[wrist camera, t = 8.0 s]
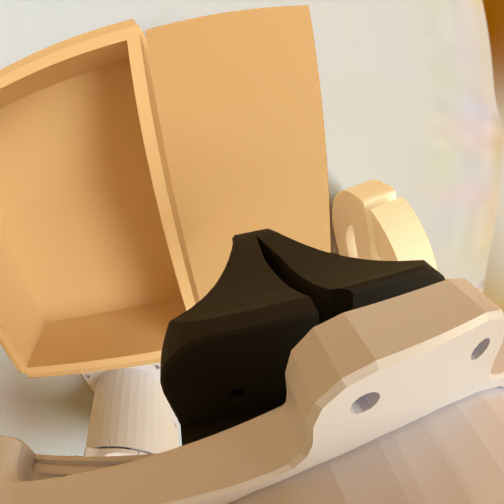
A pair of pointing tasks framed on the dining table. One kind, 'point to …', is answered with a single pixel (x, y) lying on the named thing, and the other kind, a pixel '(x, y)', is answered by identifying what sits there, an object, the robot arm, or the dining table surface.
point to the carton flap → (242, 130)
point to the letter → (378, 225)
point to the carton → (87, 209)
